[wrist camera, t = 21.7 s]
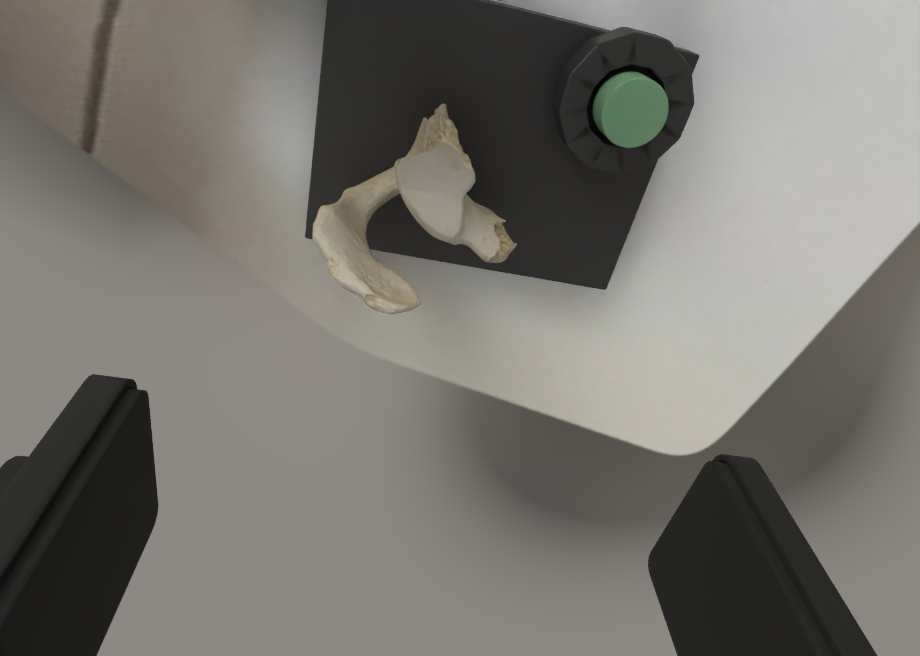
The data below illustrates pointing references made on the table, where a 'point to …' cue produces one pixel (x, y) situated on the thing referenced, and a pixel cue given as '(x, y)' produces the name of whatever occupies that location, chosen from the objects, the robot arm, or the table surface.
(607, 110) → the button
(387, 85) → the scale
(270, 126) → the table surface
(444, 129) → the bone
